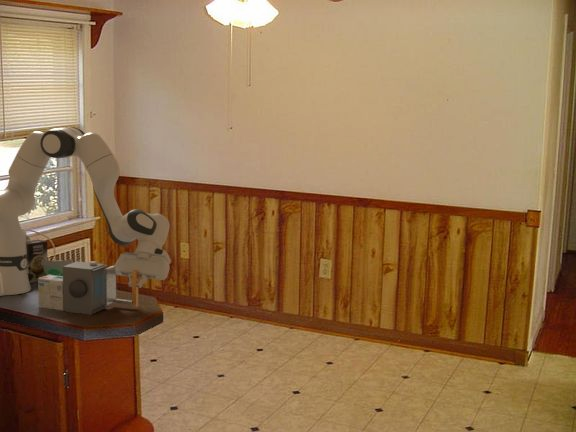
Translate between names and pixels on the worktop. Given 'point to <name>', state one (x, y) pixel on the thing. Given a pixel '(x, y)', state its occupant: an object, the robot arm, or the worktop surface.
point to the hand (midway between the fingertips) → (134, 286)
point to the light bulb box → (51, 292)
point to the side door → (111, 287)
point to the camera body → (83, 287)
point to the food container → (55, 266)
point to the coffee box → (35, 259)
